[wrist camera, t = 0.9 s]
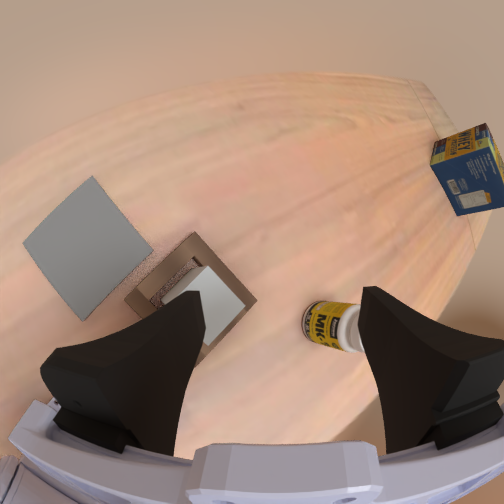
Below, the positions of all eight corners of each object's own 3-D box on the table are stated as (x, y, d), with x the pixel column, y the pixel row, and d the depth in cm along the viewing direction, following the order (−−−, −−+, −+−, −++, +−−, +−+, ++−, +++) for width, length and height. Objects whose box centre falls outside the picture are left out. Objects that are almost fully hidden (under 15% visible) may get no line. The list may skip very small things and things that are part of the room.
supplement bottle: (296, 309, 28) (352, 316, 21) (329, 295, 30) (386, 297, 23) (305, 349, 28) (360, 366, 21) (336, 332, 30) (391, 343, 23)
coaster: (83, 320, 20) (82, 321, 19) (24, 243, 18) (22, 243, 17) (153, 250, 23) (153, 250, 22) (93, 177, 21) (92, 175, 20)
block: (191, 330, 24) (208, 345, 18) (159, 299, 23) (167, 306, 17) (220, 300, 25) (245, 305, 20) (191, 268, 24) (208, 265, 19)
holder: (192, 363, 23) (194, 367, 22) (124, 298, 21) (124, 299, 20) (252, 299, 26) (257, 300, 25) (192, 233, 24) (195, 231, 23)
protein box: (434, 141, 48) (485, 121, 34) (460, 190, 52) (509, 177, 38) (428, 165, 45) (489, 144, 31) (457, 217, 49) (511, 206, 35)
